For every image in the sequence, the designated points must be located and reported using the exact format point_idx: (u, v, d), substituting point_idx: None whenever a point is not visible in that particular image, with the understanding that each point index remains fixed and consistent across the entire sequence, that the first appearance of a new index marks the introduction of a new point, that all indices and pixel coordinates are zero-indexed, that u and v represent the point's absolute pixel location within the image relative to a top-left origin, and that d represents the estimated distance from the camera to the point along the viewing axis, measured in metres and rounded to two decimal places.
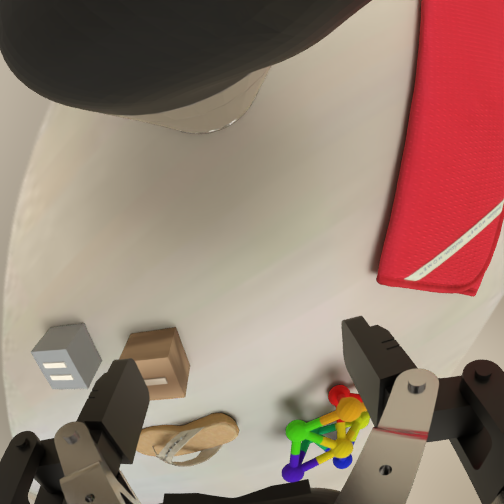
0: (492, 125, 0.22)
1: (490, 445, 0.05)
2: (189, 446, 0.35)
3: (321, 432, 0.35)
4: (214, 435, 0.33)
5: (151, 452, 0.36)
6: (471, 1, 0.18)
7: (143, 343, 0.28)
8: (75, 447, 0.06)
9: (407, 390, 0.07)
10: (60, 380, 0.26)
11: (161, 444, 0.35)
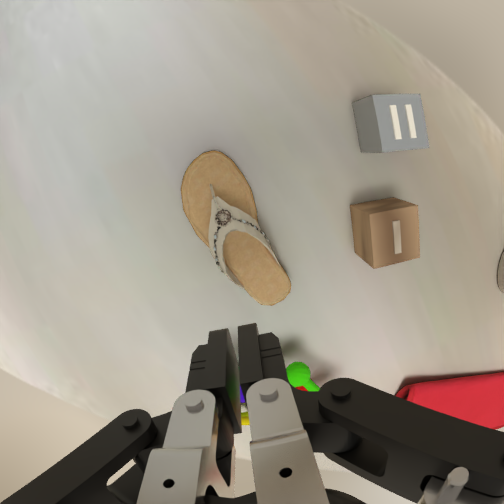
0: None
1: (380, 449, 0.07)
2: (224, 241, 0.29)
3: None
4: (266, 279, 0.30)
5: (194, 180, 0.28)
6: None
7: None
8: (191, 420, 0.07)
9: (255, 397, 0.08)
10: (392, 118, 0.23)
11: None
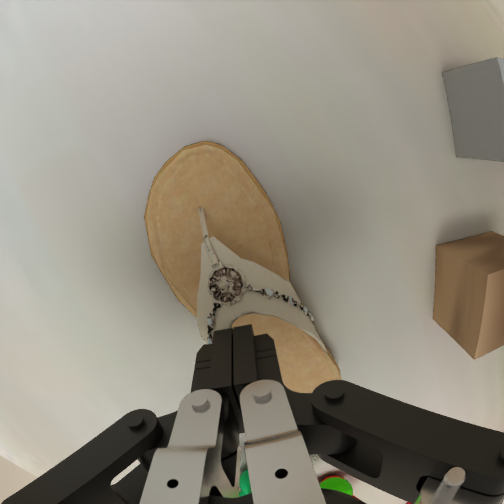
0: None
1: (375, 450, 0.07)
2: None
3: None
4: (301, 374, 0.16)
5: (170, 201, 0.14)
6: None
7: None
8: (197, 419, 0.07)
9: (249, 399, 0.08)
10: None
11: (213, 236, 0.15)
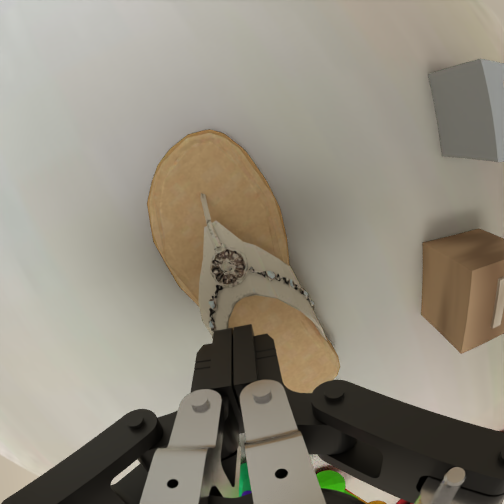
0: None
1: (375, 450, 0.07)
2: None
3: None
4: (301, 361, 0.17)
5: (172, 187, 0.14)
6: None
7: None
8: (197, 419, 0.07)
9: (249, 399, 0.08)
10: None
11: None
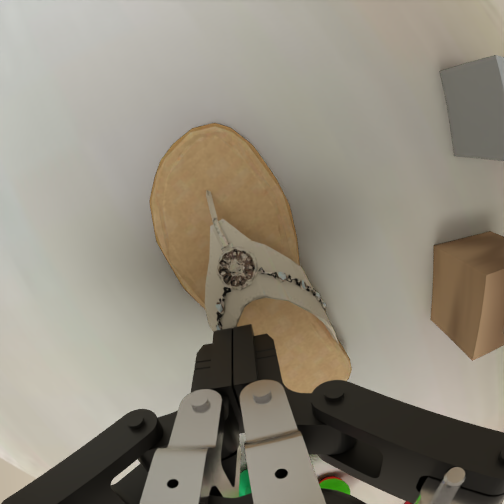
0: None
1: (375, 450, 0.07)
2: None
3: None
4: (311, 365, 0.16)
5: (176, 184, 0.14)
6: None
7: None
8: (197, 419, 0.07)
9: (249, 399, 0.08)
10: None
11: None
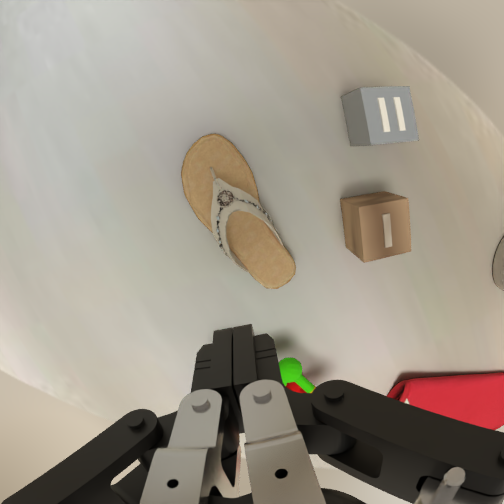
0: None
1: (375, 450, 0.07)
2: (227, 224, 0.29)
3: None
4: (270, 261, 0.30)
5: (195, 164, 0.28)
6: None
7: None
8: (197, 419, 0.07)
9: (249, 399, 0.08)
10: (380, 111, 0.23)
11: None
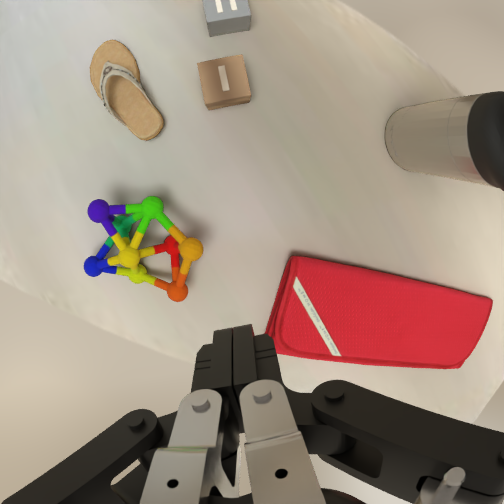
0: (388, 336, 0.44)
1: (375, 450, 0.07)
2: (115, 95, 0.33)
3: None
4: (142, 116, 0.34)
5: (98, 60, 0.32)
6: (456, 325, 0.45)
7: None
8: (197, 419, 0.07)
9: (249, 399, 0.08)
10: (215, 0, 0.27)
11: None
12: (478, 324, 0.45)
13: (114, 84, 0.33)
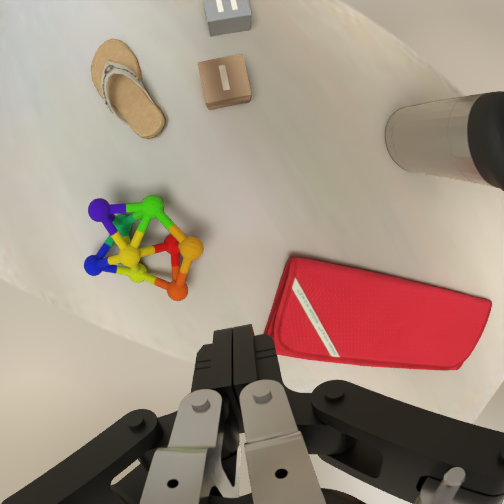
0: (387, 338, 0.44)
1: (375, 450, 0.07)
2: (116, 94, 0.33)
3: None
4: (143, 115, 0.34)
5: (99, 59, 0.32)
6: (455, 326, 0.45)
7: None
8: (197, 419, 0.07)
9: (249, 399, 0.08)
10: (216, 0, 0.27)
11: None
12: (477, 326, 0.45)
13: (115, 83, 0.33)
